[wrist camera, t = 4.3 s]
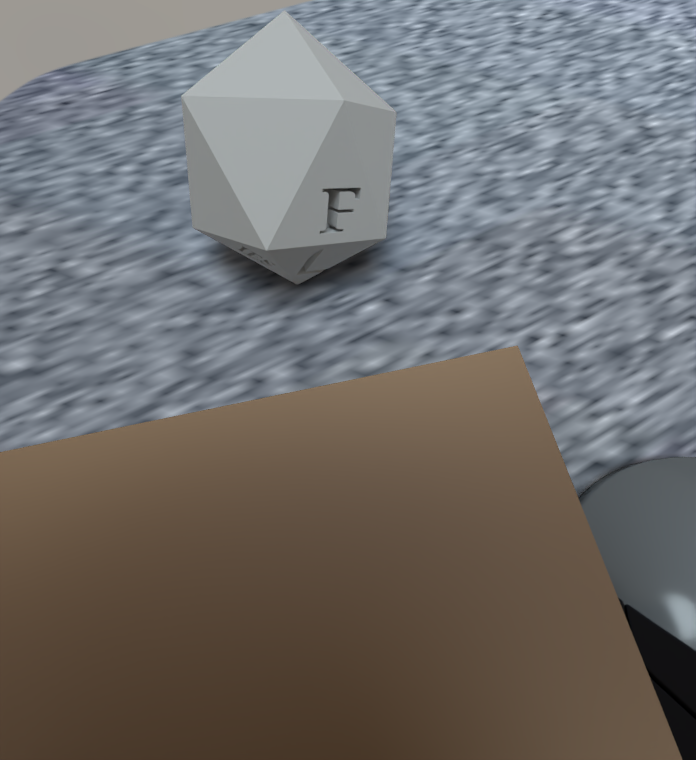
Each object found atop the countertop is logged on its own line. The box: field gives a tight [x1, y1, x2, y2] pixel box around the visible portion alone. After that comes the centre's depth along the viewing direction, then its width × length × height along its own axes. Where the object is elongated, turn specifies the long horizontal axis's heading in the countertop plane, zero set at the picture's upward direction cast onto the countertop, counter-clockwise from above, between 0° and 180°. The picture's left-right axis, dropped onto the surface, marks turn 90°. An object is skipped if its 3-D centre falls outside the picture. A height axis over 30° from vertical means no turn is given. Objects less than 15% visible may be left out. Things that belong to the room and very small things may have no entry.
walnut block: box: [0, 346, 682, 760], centre depth 8 cm, size 6×6×12 cm
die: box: [181, 10, 396, 285], centre depth 15 cm, size 8×9×10 cm
